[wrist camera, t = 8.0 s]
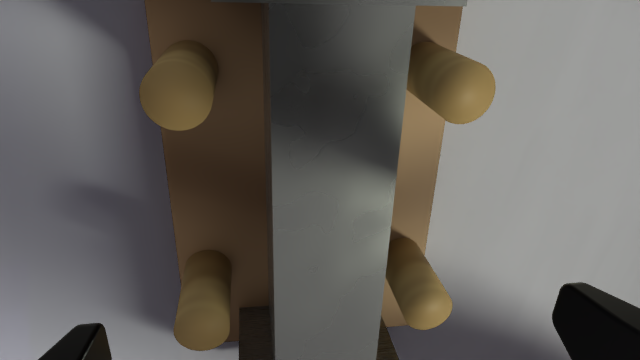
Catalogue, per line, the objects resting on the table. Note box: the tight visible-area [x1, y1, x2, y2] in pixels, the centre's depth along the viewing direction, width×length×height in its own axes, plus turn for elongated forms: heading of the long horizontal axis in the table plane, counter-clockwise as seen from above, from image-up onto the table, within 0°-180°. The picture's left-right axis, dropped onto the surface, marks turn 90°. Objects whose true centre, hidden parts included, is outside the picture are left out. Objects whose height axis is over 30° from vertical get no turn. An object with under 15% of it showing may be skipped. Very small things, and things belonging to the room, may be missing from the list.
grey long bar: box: [211, 0, 467, 360], centre depth 13 cm, size 19×5×4 cm, turn 178°
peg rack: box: [139, 0, 495, 351], centre depth 14 cm, size 14×9×4 cm, turn 178°
